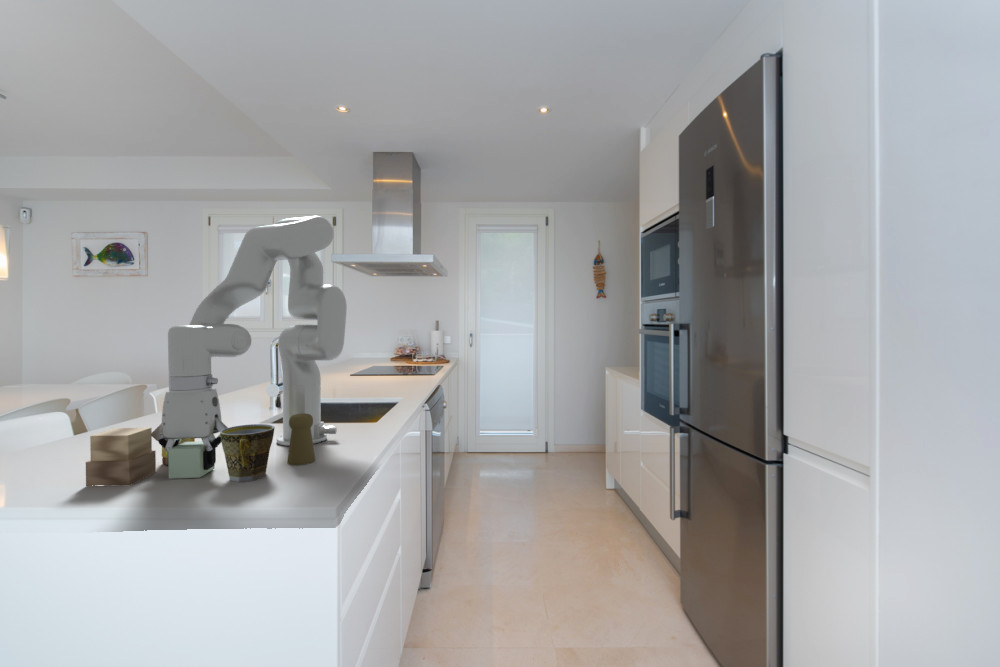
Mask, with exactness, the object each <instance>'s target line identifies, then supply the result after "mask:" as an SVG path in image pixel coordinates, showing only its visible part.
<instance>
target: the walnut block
mask: <svg viewBox="0 0 1000 667" xmlns="http://www.w3.org/2000/svg"><path fill="white" fill-rule="evenodd" d="M156 455H157V454H156V450H152V451H151V452H148V453H146V454H144V455H141V456H139V457H136V458H134V459H131V460H129V461H91V459H90V460H88V461H85V487H86V486H92V485H93V487H96V486H95V485H130V486H132V485H133V483H134V484H136V483H138V482H139V480H140V481H142V480H144V479H146V478H149V477H150V476H152V475H154V474H156V471H157V464H156V463H157V462H156V460H157V458H156ZM137 481H138V482H137ZM135 482H136V483H135ZM131 484H132V485H131Z"/></svg>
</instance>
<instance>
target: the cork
mask: <svg viewBox="0 0 1000 667" xmlns="http://www.w3.org/2000/svg"><path fill="white" fill-rule="evenodd" d="M312 425H313V417H312V416H311V415H310V414H305V413H301V414H295V415H293V416H291V417H290V419H289V426H290V428H291V429H292V431H291V438H290V446H289V448H288V456H287V462H286V463H287V465H291V466H301V465H302V466H303V465H308V463H309V464H312V463H313V462H314V463H315V461H316V456H315V450H314V444H313V441H312V434H311V426H312Z"/></svg>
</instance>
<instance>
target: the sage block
mask: <svg viewBox="0 0 1000 667" xmlns="http://www.w3.org/2000/svg"><path fill="white" fill-rule="evenodd" d="M204 451H206V448H205V446H204V444H203V442H202V441H195V442H184V443H181V444H179V445H177V446H175V447H173V448H170V449H168V461H169V465H168V479H171V480H172V479H193V478H194V479H195V478H198V479H199V478H201V477H203V476H206V474H208V473H209V472H211V471H213V470H215V469H216V468H215V464H216V463H215V464H214V466H213V467H211V468H210V469H208V470H204V462H203V452H204Z"/></svg>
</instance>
